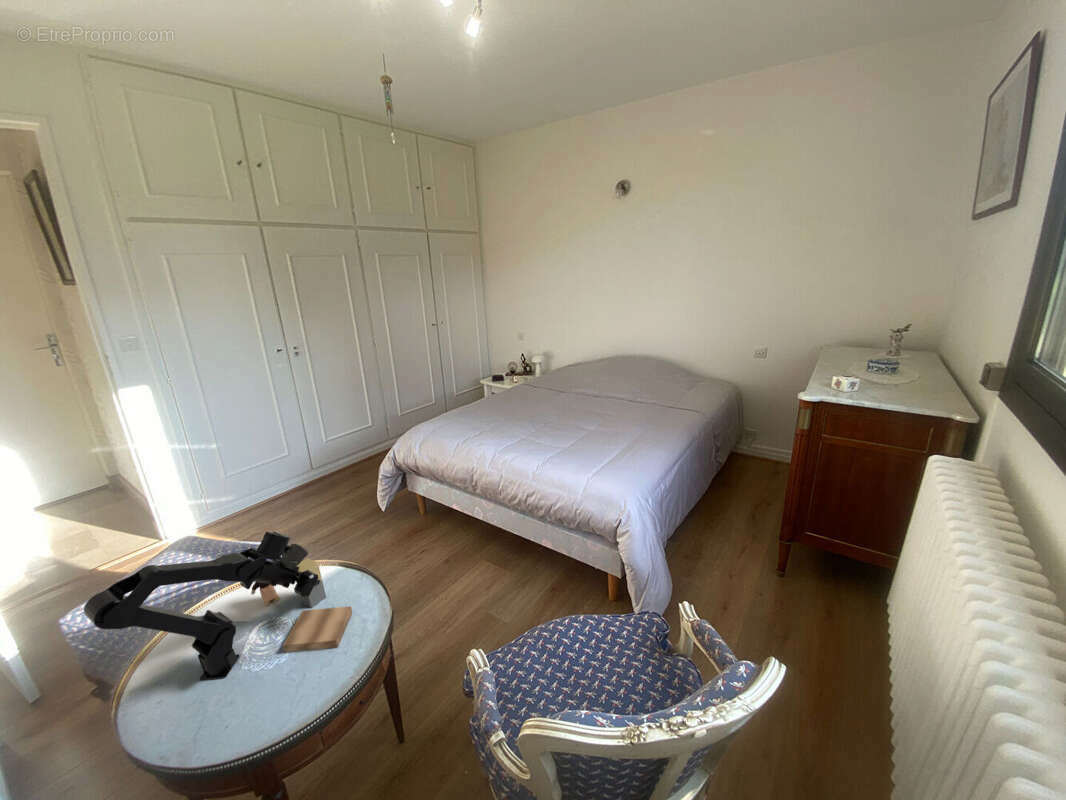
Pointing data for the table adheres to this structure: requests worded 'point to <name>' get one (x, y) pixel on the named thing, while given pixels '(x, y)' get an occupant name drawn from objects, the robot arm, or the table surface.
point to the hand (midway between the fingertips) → (314, 579)
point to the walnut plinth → (318, 629)
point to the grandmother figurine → (266, 592)
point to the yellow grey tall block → (318, 590)
